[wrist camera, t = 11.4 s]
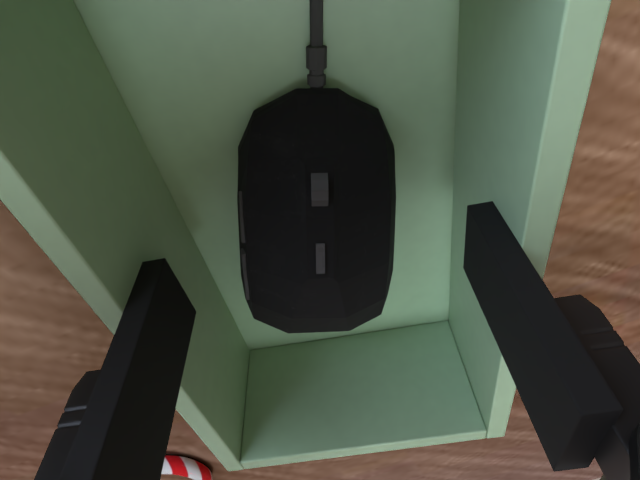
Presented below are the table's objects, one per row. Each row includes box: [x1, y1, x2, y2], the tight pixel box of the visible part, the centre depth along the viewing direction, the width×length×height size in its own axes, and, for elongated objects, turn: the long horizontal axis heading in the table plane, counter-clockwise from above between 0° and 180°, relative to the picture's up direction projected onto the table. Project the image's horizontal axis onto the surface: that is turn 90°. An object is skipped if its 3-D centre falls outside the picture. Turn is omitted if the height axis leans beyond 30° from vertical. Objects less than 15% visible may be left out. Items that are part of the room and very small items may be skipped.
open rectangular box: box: [0, 0, 611, 471], centre depth 15 cm, size 13×21×7 cm, turn 10°
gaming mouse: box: [237, 0, 396, 334], centre depth 15 cm, size 6×15×4 cm, turn 179°
